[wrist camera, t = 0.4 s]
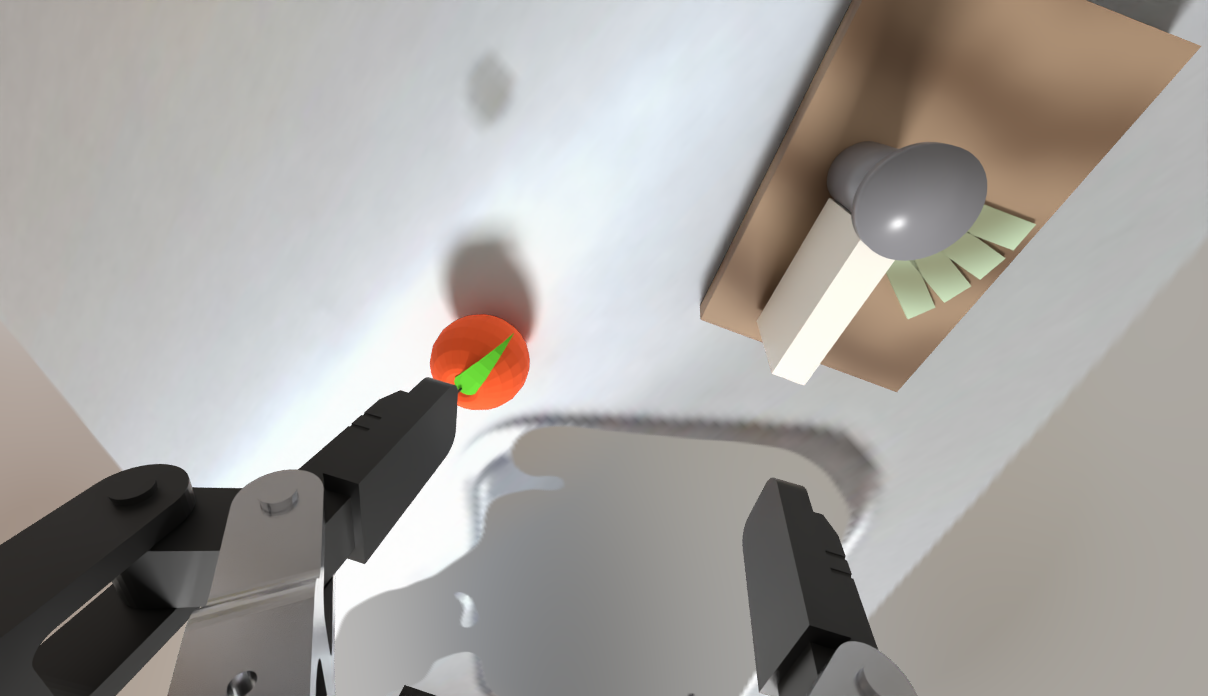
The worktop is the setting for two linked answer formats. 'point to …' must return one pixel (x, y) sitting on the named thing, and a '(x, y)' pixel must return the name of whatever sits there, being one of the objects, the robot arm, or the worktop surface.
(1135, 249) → the worktop surface
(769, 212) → the board
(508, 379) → the clementine
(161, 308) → the worktop surface
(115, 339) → the worktop surface
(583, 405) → the worktop surface
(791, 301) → the knob
